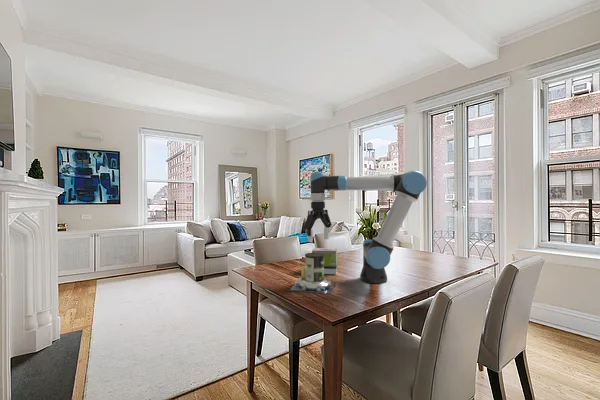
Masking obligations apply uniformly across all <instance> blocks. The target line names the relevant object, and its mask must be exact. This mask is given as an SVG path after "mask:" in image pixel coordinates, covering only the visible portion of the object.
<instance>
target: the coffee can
mask: <svg viewBox="0 0 600 400" xmlns="http://www.w3.org/2000/svg"><path fill="white" fill-rule="evenodd" d="M304 256H305V257H304V259H305V260H304V262H305V263H304V264H305V265H304V266H305V281H306V282H308V283H322V282H324V277H325V274H324V254H322V253H312V252H307V253H304Z"/></svg>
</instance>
